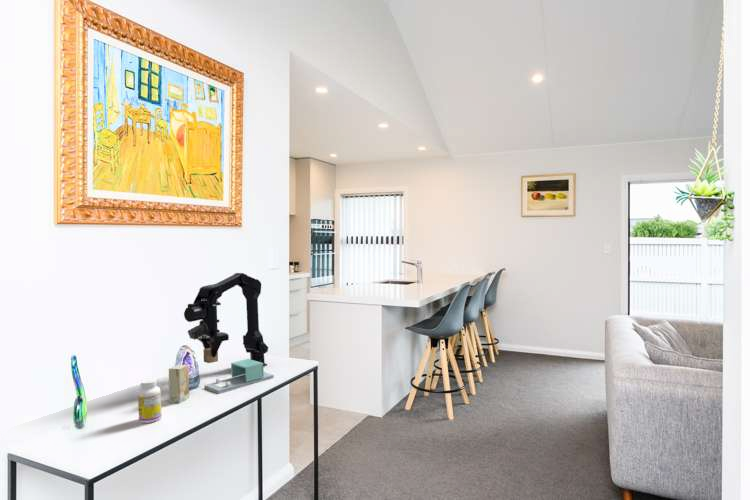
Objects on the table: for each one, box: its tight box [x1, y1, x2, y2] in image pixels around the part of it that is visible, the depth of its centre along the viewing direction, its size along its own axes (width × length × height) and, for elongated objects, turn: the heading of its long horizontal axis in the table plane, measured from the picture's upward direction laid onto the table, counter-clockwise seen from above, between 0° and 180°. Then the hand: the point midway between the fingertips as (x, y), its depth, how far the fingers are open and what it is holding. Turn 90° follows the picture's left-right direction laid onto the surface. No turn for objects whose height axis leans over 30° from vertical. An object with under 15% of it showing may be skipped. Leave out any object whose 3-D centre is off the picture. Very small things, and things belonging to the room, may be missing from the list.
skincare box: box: [168, 364, 190, 404], centre depth 171 cm, size 6×4×12 cm
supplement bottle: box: [137, 378, 163, 424], centre depth 153 cm, size 7×7×13 cm
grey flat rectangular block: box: [204, 371, 275, 394], centre depth 190 cm, size 10×25×3 cm, turn 138°
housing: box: [230, 358, 264, 382], centre depth 193 cm, size 11×8×6 cm
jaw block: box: [203, 348, 219, 364], centre depth 190 cm, size 4×4×5 cm
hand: (210, 356), depth 190 cm, fingers closed on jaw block, 4 cm apart
